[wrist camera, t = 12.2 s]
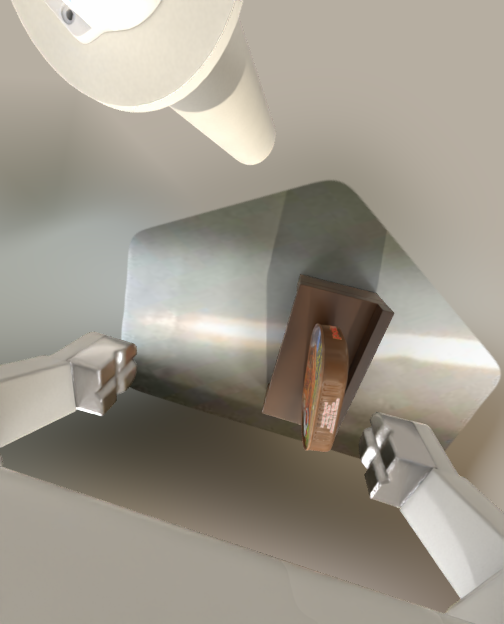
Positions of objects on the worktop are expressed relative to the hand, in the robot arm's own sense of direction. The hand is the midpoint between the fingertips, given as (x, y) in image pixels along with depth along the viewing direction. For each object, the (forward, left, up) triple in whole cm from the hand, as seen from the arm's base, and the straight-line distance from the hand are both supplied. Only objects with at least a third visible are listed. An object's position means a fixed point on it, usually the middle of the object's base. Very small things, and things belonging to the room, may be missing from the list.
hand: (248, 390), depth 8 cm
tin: (+12, -7, -22) cm, 26 cm away
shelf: (+11, -8, -27) cm, 30 cm away
